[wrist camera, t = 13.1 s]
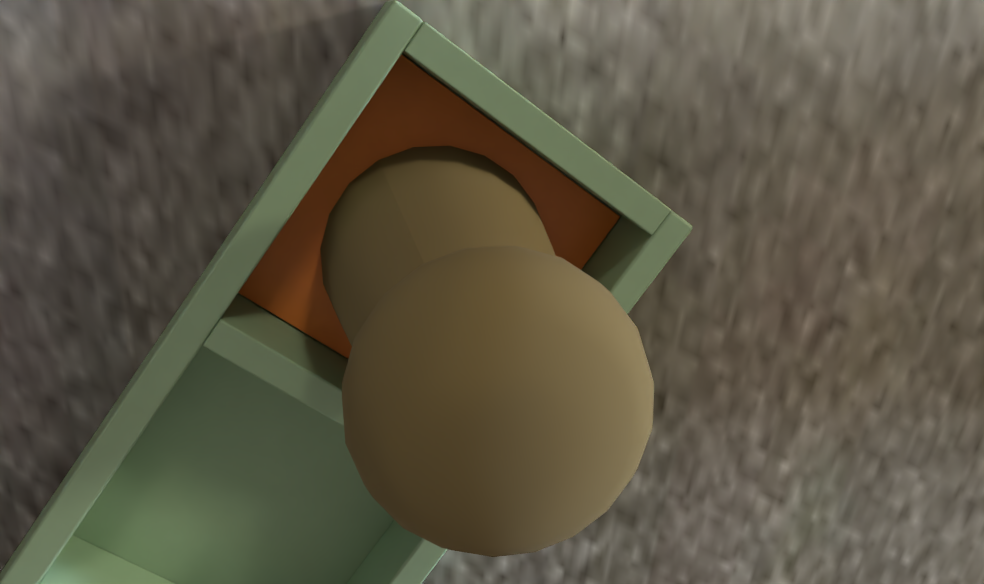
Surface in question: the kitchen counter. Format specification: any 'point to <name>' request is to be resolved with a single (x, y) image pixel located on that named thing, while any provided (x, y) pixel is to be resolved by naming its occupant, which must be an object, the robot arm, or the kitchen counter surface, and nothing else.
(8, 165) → the kitchen counter surface
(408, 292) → the cork
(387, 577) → the compartment tray
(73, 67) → the kitchen counter surface
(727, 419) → the kitchen counter surface
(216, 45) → the kitchen counter surface
